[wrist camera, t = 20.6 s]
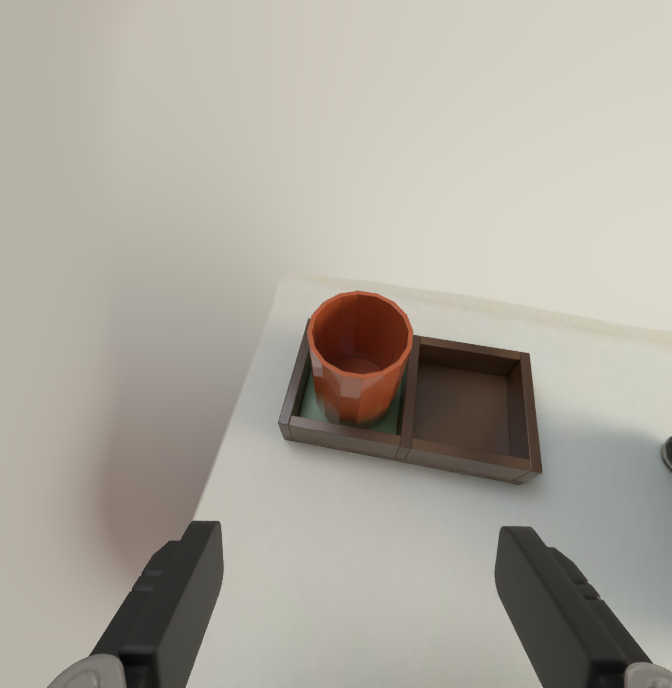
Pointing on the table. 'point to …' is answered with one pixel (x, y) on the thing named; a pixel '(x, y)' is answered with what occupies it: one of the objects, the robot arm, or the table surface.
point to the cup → (358, 356)
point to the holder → (436, 412)
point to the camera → (668, 451)
